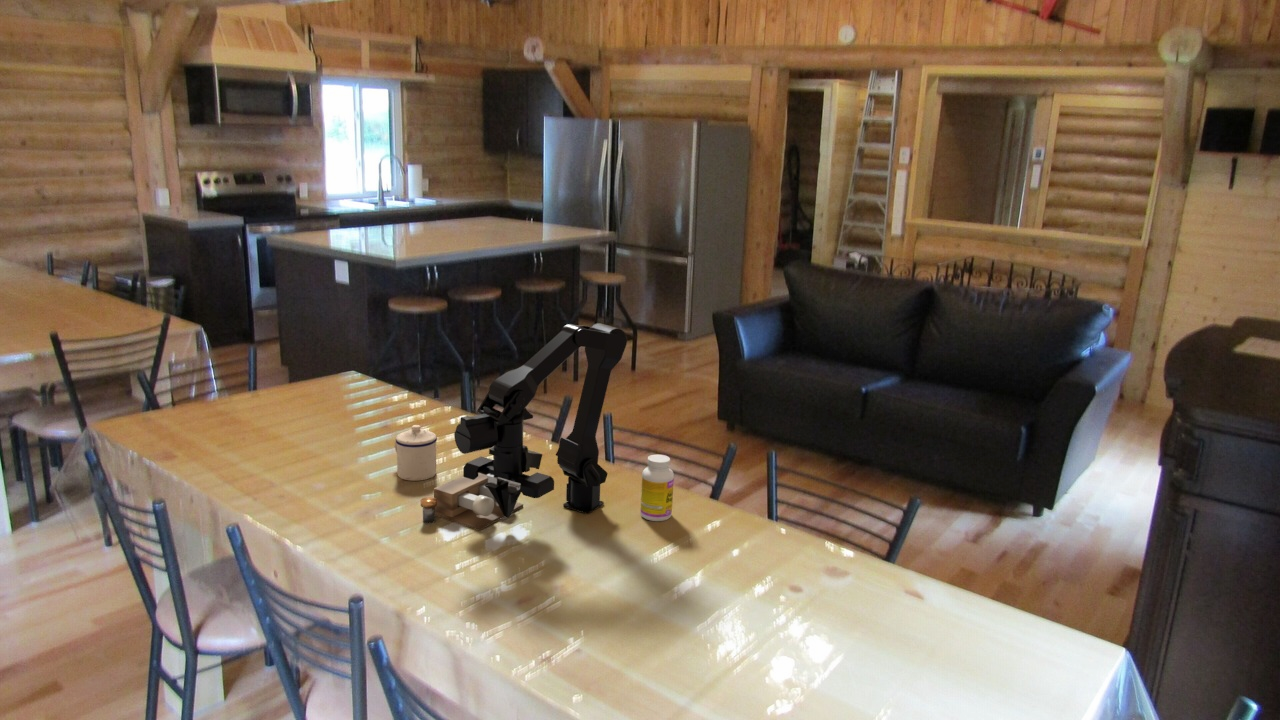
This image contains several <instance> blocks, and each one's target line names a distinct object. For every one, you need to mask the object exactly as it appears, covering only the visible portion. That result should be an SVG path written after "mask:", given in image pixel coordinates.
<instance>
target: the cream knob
mask: <svg viewBox="0 0 1280 720" xmlns="http://www.w3.org/2000/svg"><path fill="white" fill-rule="evenodd" d="M458 506H461V507H464V508H468V509H471V510H473V511H474V513H476V514H480V515H483V516H489V515H490V514H491V513H492V511H493V508H494V500H493V499H492V498H489V497H486V496H483V495H479V496H476V495H473V494H470V493H467V492H464V493H462V494H460V495H458Z"/></svg>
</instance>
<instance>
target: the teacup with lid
mask: <svg viewBox="0 0 1280 720" xmlns="http://www.w3.org/2000/svg"><path fill="white" fill-rule="evenodd" d="M437 440H438V438H437V435H436V434H435V433H434V432H432V431H429V430H426V429H424V428H421V425H419V424H414V425H412V426H411V428H410V429H408V430H407V431H403V432H401V433H398V434H397V436H396V437H395V441H394V449H395V452H396V461H397V462H396V465H397V476H398V477H399V478H400V479H402V480H405V481H409V482H411V481H412V482H413V481H414V482H416V481H418V482H420V481H425V480H428V479H431V478H433V477H435V475H436V474H437Z"/></svg>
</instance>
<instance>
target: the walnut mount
mask: <svg viewBox="0 0 1280 720" xmlns="http://www.w3.org/2000/svg"><path fill="white" fill-rule="evenodd" d="M485 482H487V483H488V477H487V475H485V474H481V473H478V477H477V478H476V479H474V480H472V479H469V478H466V477H464V476H463V475H461V476H459V477H456V478H454V479H452V480H450V481H447V482H445V483H443V484H441V485H438V486H436V487H434V488H433V497H434V498H436V499H437V505H436V506H435V517H439V518H441V519H444V520H446V521H447V520H448V521H451V522H453V523H455V524H459V525H462V526H466V527H468V528H471V529H474V530H476V531H477V530H478V531H481V530H483V529H485V528H486V527H488V526H491V525H492V524H493V523H496V522H497V521H499V520H501V519H504V518H505V517H504V515H503V513H502V511H501V509H500V507H499V505H498V503H496V502H495V501H494V508H493V511H492V513H491V514H490V515H489V516H483V515H480V514H476V513H474V511H473V510H471V509H468V508H464V507H461V506H458V495H460V494H462V493H464V492H467V493H470V494H473V495H476V496H479V485H481V484H483V483H485ZM523 507H524V504H523V503H521V502H518V501H517V502H516V505H515V507H514V510H513V512H512V514H513V513H515V512H516V511H518V510H520V509H522V508H523Z"/></svg>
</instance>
